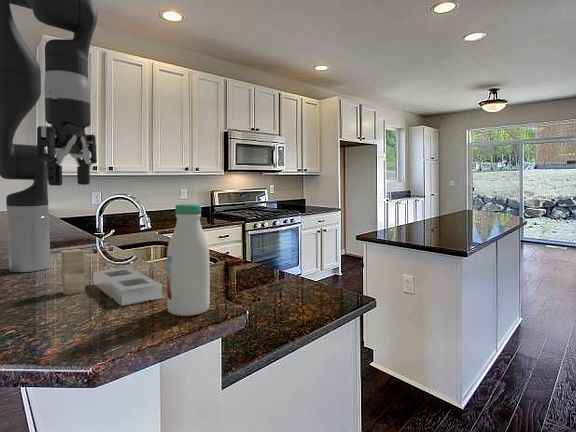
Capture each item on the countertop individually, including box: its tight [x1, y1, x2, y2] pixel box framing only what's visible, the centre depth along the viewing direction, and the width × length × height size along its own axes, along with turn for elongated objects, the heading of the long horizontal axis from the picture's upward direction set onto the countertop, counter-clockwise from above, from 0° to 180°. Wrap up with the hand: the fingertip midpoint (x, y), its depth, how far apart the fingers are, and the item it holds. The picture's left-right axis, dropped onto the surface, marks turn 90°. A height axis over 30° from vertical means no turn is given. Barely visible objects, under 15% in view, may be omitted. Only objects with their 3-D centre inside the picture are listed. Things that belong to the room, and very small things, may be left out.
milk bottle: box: [166, 203, 211, 317], centre depth 70 cm, size 8×8×20 cm
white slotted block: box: [93, 266, 163, 307], centre depth 83 cm, size 20×8×3 cm, turn 41°
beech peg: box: [60, 248, 86, 296], centre depth 81 cm, size 4×4×9 cm
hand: (70, 185), depth 73 cm, fingers open, 8 cm apart
